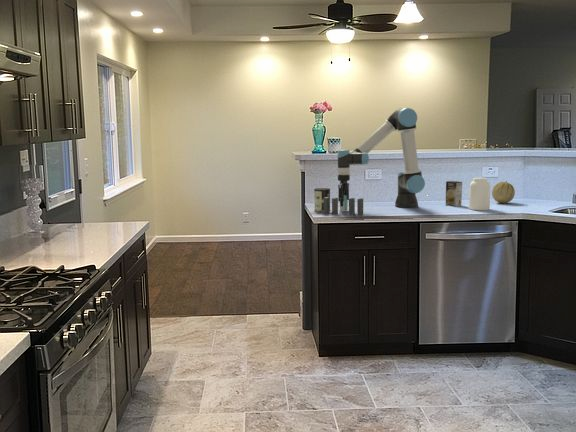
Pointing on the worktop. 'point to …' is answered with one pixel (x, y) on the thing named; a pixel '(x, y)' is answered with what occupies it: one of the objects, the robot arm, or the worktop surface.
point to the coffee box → (453, 193)
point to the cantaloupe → (503, 192)
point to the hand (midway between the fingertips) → (343, 210)
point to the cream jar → (479, 194)
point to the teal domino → (345, 203)
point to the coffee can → (320, 198)
